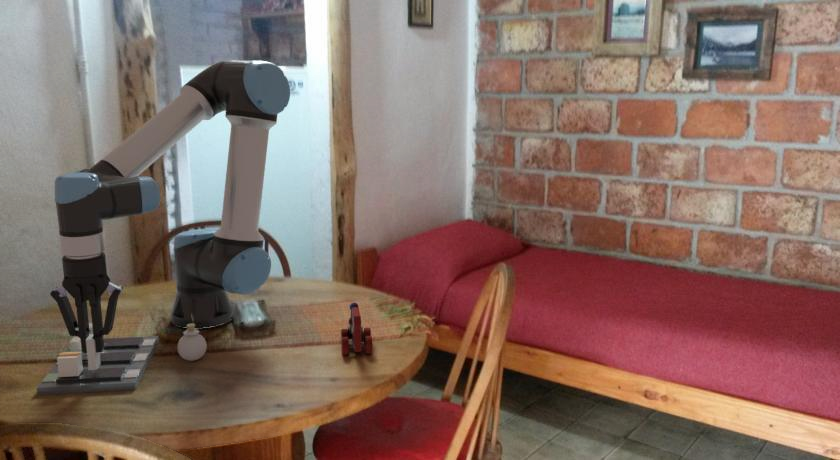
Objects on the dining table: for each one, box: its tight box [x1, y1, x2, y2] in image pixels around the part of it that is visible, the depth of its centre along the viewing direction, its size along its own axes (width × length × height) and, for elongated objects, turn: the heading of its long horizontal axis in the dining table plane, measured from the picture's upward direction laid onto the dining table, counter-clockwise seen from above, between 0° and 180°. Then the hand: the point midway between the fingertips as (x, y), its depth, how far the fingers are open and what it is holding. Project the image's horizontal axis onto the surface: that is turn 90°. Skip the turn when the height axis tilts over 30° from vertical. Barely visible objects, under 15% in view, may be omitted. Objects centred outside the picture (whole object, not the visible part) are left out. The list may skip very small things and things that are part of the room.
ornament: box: [177, 313, 208, 362], centre depth 148 cm, size 6×7×10 cm
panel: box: [36, 322, 160, 396], centre depth 143 cm, size 18×24×6 cm
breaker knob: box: [56, 351, 83, 377], centre depth 134 cm, size 4×3×4 cm
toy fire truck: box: [340, 302, 374, 356], centre depth 155 cm, size 7×12×10 cm, turn 8°
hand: (94, 366), depth 136 cm, fingers closed
